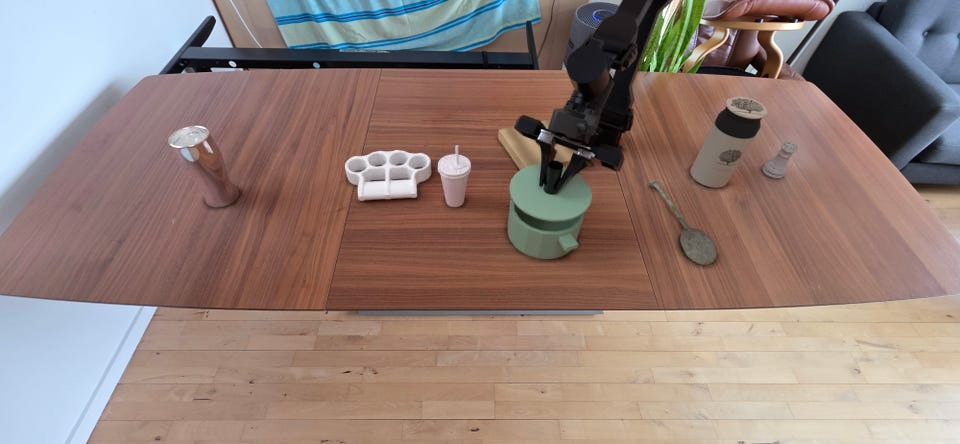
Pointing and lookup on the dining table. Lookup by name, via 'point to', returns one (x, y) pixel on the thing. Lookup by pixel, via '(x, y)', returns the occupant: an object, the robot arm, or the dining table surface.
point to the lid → (550, 193)
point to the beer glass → (204, 164)
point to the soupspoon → (693, 237)
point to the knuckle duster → (388, 174)
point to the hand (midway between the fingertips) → (548, 189)
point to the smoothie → (454, 177)
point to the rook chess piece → (780, 161)
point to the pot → (542, 234)
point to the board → (530, 148)
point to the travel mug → (728, 141)
